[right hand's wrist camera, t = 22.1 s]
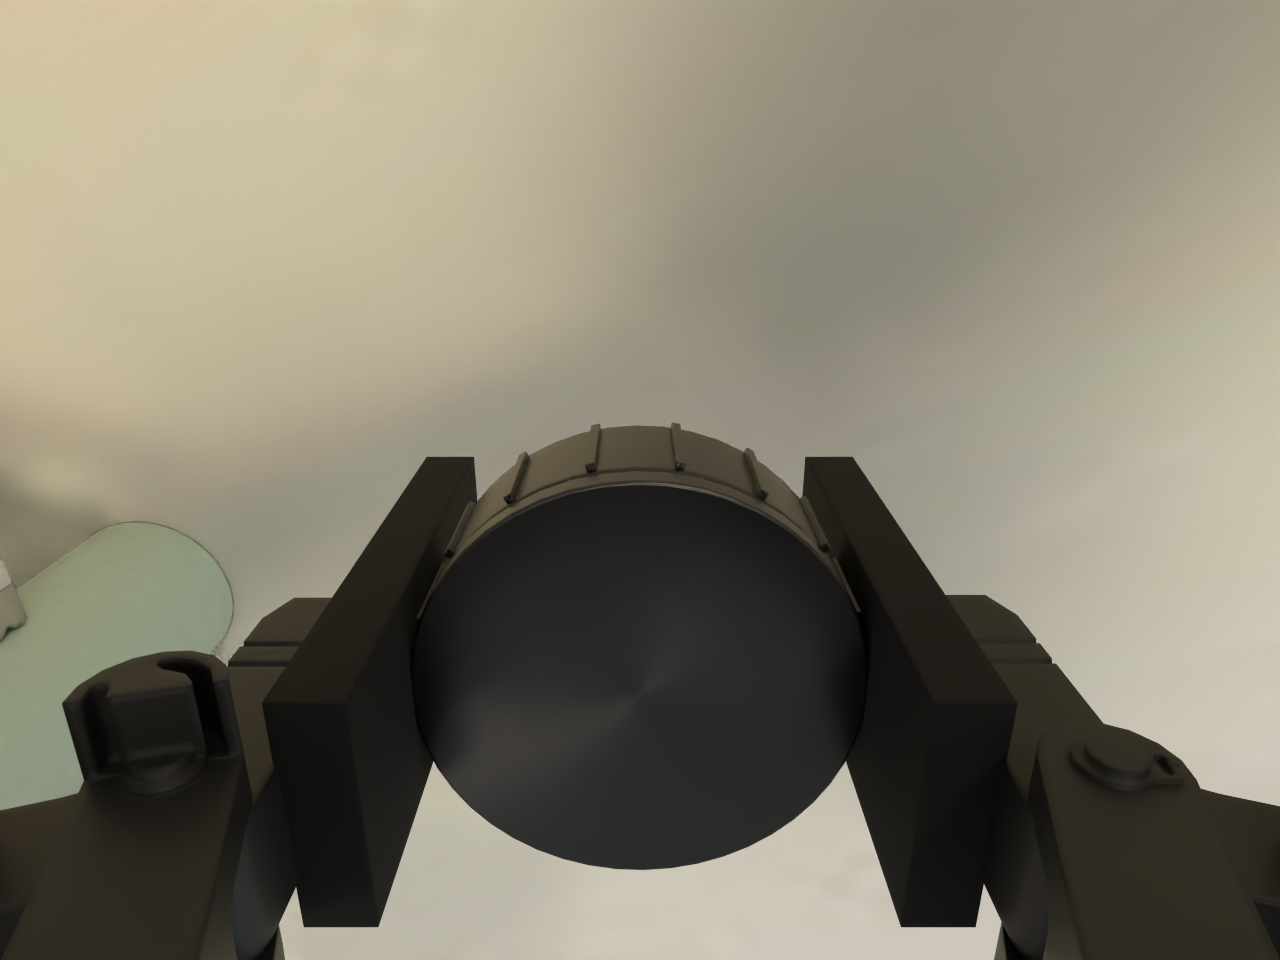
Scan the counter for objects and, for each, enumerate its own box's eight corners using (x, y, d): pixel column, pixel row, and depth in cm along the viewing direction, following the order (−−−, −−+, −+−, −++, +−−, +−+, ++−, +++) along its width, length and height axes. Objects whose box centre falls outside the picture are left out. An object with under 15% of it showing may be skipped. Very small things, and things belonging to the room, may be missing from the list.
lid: (826, 767, 13) (857, 873, 11) (459, 771, 13) (428, 879, 11) (852, 416, 11) (897, 473, 9) (419, 423, 11) (374, 481, 9)
